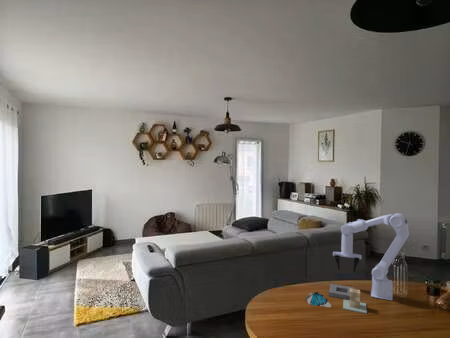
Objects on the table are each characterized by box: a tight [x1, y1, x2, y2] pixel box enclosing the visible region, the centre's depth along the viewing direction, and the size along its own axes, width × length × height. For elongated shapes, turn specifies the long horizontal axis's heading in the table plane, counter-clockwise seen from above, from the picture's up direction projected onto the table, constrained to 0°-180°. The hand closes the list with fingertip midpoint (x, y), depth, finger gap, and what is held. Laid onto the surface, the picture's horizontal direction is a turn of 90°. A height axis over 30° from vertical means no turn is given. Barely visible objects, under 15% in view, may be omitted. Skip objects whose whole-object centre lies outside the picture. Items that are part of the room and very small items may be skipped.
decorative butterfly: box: [305, 291, 332, 308], centre depth 143 cm, size 10×6×10 cm
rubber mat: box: [342, 299, 368, 315], centre depth 139 cm, size 10×10×1 cm
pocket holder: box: [328, 283, 355, 300], centre depth 153 cm, size 12×12×2 cm
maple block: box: [349, 288, 361, 308], centre depth 139 cm, size 4×4×7 cm
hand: (346, 270), depth 162 cm, fingers open, 7 cm apart
